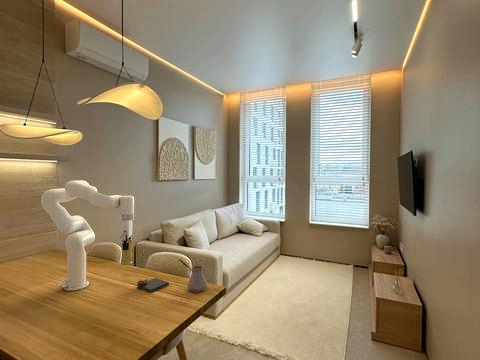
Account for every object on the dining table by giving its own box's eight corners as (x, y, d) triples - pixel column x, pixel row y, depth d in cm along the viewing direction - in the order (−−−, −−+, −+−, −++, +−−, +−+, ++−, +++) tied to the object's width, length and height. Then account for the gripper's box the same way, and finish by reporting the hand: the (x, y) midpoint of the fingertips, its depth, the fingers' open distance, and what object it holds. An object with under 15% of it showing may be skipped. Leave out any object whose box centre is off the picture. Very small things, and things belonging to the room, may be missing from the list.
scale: (149, 293, 146) (149, 287, 146) (135, 287, 153) (135, 281, 153) (168, 285, 157) (168, 279, 157) (154, 280, 164) (154, 274, 164)
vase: (123, 262, 154) (123, 237, 154) (133, 261, 155) (134, 237, 155) (119, 265, 148) (119, 240, 148) (130, 265, 149) (130, 240, 149)
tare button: (142, 283, 152) (142, 280, 152) (139, 282, 153) (139, 279, 153) (145, 281, 154) (145, 279, 154) (143, 280, 155) (143, 278, 155)
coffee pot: (211, 288, 154) (211, 263, 154) (197, 295, 144) (198, 268, 144) (185, 280, 165) (185, 256, 165) (171, 286, 156) (171, 261, 156)
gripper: (123, 215, 159) (123, 245, 159) (116, 219, 142) (115, 253, 142) (136, 215, 160) (136, 244, 161) (130, 219, 144) (130, 252, 144)
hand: (126, 248), depth 151 cm, fingers closed on vase, 5 cm apart
